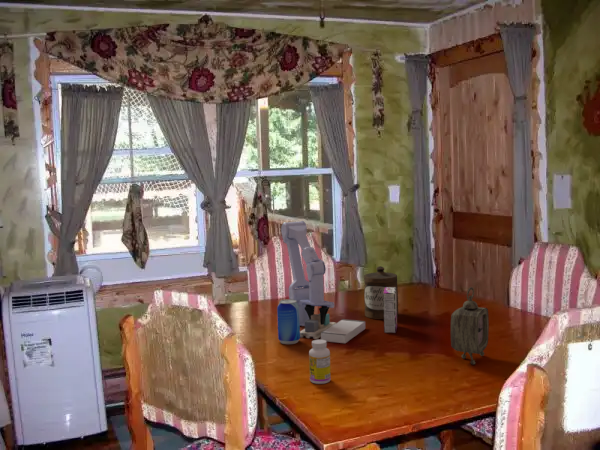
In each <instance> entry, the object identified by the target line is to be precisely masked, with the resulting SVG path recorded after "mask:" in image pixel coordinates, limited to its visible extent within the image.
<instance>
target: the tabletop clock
mask: <svg viewBox="0 0 600 450" xmlns="http://www.w3.org/2000/svg"><path fill="white" fill-rule="evenodd" d="M470 291H472V295H469V294H470ZM474 295H475V290H474V287H469V288H468V289H467V292H466V299H467V300H465V301H464V302H463V304H462V306H461V307H458V308H457V309H455V310H454V311H453V313H451V316H450V345H451V346H450V347H451V348H452V349H453V350H455V351H456V352H463V354H461V358H462V359H466V358H467V355H466V353H467V354H468V355H469V356H470V364H471V365H472V366H473V365H476V360H475V359H474V358H473V357H474V356H473V354H475V355H476V354H477V355H480V356H481V357H484V355H485V349H487V347H488V345H489V328H490V327H489V326H490V325H489V309H488V308H487V307H479V306H478V303H477V302H476V301H474V300H473V299H474Z"/></svg>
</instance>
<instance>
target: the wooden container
mask: <svg viewBox="0 0 600 450" xmlns="http://www.w3.org/2000/svg"><path fill="white" fill-rule="evenodd" d="M375 269H376V272H371V273H370V272H369V273H365V274H364V275H363V281H364V316H365V317H366V318H368V319H374V320H384V306H383V292H384V289H385V287H395V288H396V301H397V317H399V293H398V292H399V291H398V287H399V286H398V275H397V274H396V273H392V272H385V267H384V266H377V267H376V268H375Z"/></svg>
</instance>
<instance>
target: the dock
mask: <svg viewBox="0 0 600 450" xmlns="http://www.w3.org/2000/svg"><path fill="white" fill-rule="evenodd" d="M335 323H336V324H335V325H333V326H331V327H330V328H328V329H327V330H325V331H323V332H321V337H320V340H326V342H327V343H328V342H330V343H338V344H339V343H340V344H346V343H348V342H349V341H350V340H352V339H354V337H356V336H357V335H359V334H360V333H362V332H363V331H364V330H365V329H366V321H365V320H356V319H345V318H342V319H341V320H339V321H338V322H335Z"/></svg>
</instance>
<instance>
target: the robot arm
mask: <svg viewBox="0 0 600 450" xmlns="http://www.w3.org/2000/svg"><path fill="white" fill-rule="evenodd" d="M280 230H281V231H280V232H281V237H282V240H283V243H285V244H286V246H287V254H288V257H289V264H290V268H291V273H292V279H293V282H291V283H290V285H289V287H288V299H293V300H296V301H297V304H298V306H299V320H300V326H301V327H305V321H307V320H309V319H311V316H312V315H314V314H315V309H316V307H319V308H318V312H319V314H320V318H321V325H323V324H324V323H325V318H326V314H328V312H329V310H330V308H331V309H333V308H334V307H335V302H334V301H328V300H325V295H324V291H325V289H324V276H325V274H326V271H327V270H326V269H327V268H326V263H325V262H324V260H322V259H321V258H319V255H318V254H317V251H316V250H315V248H314V247H312V246H311V244H310V242H309V239H308V237H307V236H308V235H307V232H308V226H307V223H306V221H304V220H301V221H299V220H298V221H290V222H289V221H287V222H286V221H284V222H283V223H282V224H281V229H280ZM300 249H301V252H300ZM301 256H302V257H301ZM302 258H303V261H304V263H305V265H306V268H305V271H306V274H307V279H306V276H305V274H304V273H305V271H304V266H303V261H302Z"/></svg>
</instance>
